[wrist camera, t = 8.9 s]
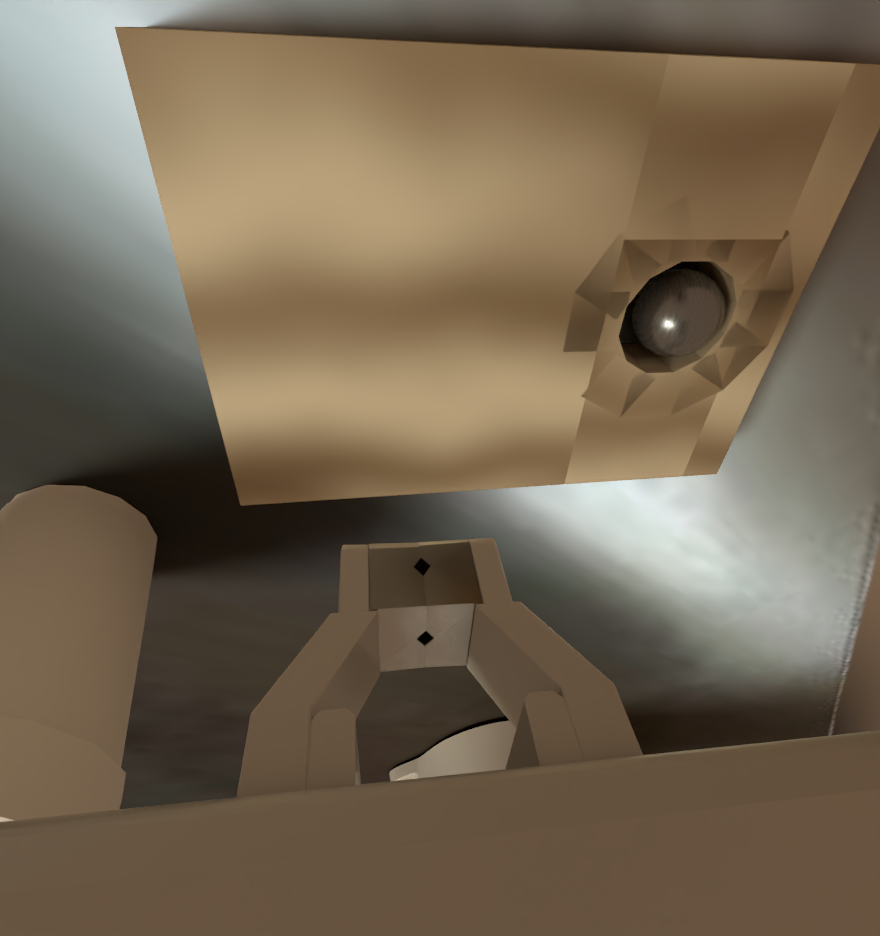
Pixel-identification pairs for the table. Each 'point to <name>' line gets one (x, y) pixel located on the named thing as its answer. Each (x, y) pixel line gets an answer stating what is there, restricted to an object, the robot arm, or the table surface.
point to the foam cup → (68, 647)
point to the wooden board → (482, 247)
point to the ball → (678, 312)
